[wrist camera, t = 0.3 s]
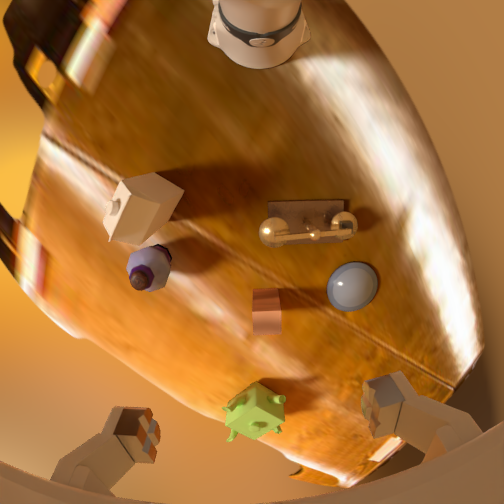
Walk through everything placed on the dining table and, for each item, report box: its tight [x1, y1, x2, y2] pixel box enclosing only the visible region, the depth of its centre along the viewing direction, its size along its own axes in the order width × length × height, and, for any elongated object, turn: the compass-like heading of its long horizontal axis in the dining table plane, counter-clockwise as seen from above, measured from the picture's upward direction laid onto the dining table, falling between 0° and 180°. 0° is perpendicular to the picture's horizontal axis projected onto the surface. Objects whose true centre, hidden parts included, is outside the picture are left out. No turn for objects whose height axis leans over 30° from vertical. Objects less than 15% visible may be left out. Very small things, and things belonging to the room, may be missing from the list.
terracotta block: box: [252, 288, 281, 335], centre depth 57 cm, size 5×5×9 cm
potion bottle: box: [126, 244, 172, 292], centre depth 53 cm, size 9×9×12 cm
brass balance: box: [259, 200, 358, 247], centre depth 51 cm, size 8×18×11 cm, turn 93°
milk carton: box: [103, 172, 184, 246], centre depth 46 cm, size 7×7×19 cm
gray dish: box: [327, 262, 378, 311], centre depth 60 cm, size 11×11×1 cm
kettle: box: [222, 381, 286, 442], centre depth 65 cm, size 15×14×11 cm
